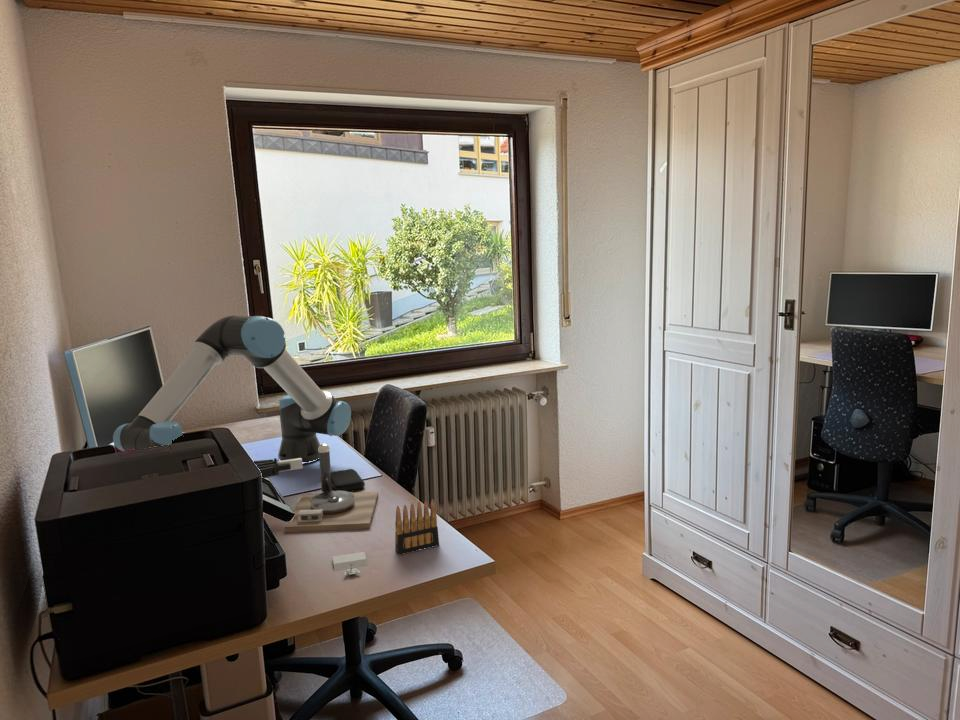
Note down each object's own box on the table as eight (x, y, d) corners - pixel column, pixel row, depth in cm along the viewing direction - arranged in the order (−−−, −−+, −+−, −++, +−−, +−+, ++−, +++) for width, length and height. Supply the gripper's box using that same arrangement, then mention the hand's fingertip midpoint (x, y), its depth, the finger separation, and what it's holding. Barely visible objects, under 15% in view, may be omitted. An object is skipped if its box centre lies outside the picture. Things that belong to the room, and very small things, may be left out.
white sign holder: (364, 556, 156) (364, 546, 156) (370, 581, 145) (369, 570, 144) (333, 561, 154) (332, 551, 154) (336, 586, 143) (335, 576, 142)
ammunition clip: (436, 542, 161) (434, 497, 159) (439, 545, 160) (437, 499, 158) (395, 552, 157) (392, 505, 155) (397, 555, 155) (395, 508, 153)
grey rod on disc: (359, 508, 179) (356, 453, 176) (315, 517, 174) (311, 460, 171) (346, 490, 193) (343, 439, 190) (305, 498, 188) (301, 445, 185)
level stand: (303, 499, 191) (302, 487, 191) (378, 496, 192) (377, 484, 192) (285, 532, 170) (283, 519, 169) (369, 528, 171) (369, 515, 170)
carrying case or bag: (322, 481, 207) (331, 496, 194) (321, 471, 207) (330, 487, 193) (355, 475, 212) (366, 490, 198) (355, 466, 211) (365, 481, 198)
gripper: (211, 482, 179) (298, 469, 189) (214, 498, 168) (306, 483, 178) (209, 456, 178) (297, 444, 188) (211, 470, 167) (305, 456, 176)
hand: (301, 463), depth 183 cm, fingers closed
